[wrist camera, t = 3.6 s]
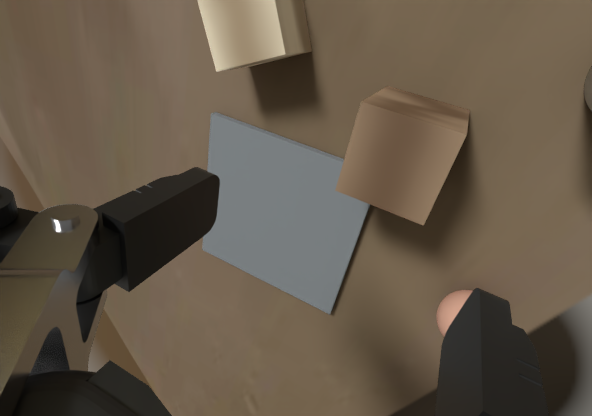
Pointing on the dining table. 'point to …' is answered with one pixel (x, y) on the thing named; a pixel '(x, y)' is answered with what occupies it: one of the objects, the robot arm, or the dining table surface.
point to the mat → (281, 211)
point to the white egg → (588, 89)
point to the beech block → (254, 31)
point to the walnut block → (402, 152)
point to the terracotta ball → (450, 308)
